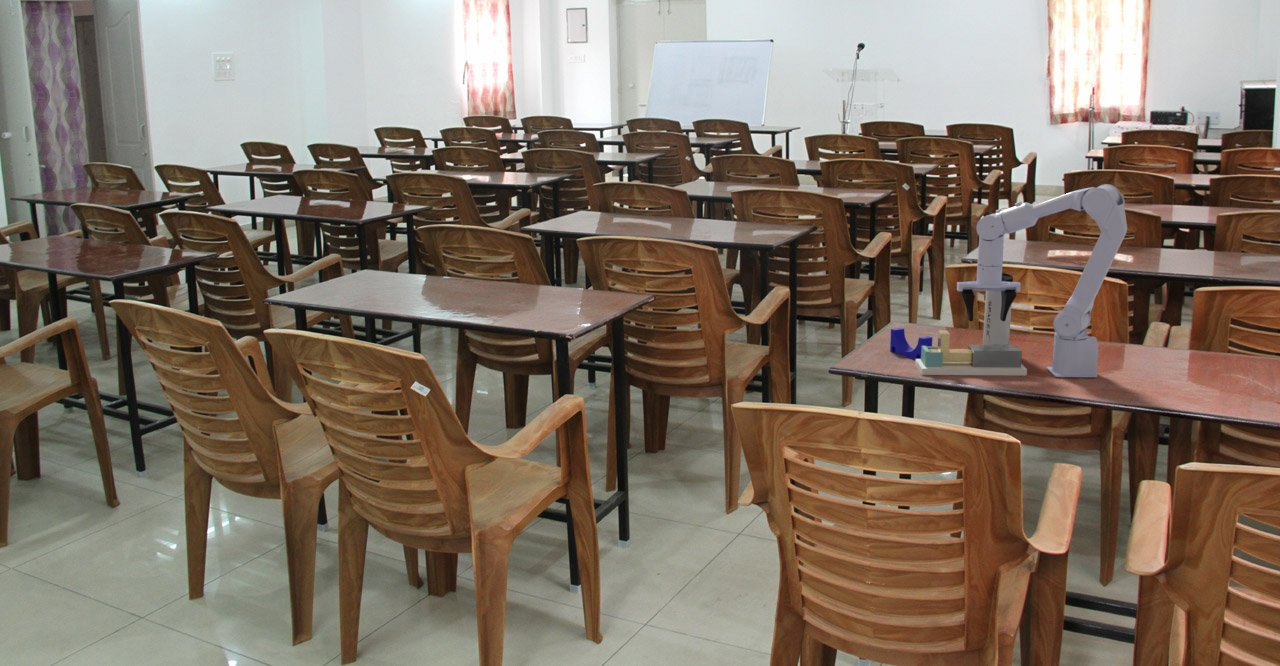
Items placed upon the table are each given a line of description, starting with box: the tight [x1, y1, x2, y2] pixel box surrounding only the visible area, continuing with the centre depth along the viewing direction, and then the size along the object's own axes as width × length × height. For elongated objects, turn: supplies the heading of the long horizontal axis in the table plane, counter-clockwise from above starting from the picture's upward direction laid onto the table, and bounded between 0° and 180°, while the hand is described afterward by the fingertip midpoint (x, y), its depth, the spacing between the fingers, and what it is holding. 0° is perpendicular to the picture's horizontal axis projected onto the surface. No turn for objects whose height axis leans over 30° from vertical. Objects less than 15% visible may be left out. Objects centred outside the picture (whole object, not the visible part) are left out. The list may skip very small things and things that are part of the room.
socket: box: [921, 346, 943, 367], centre depth 264 cm, size 4×6×4 cm
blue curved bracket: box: [889, 327, 933, 361], centre depth 278 cm, size 12×4×6 cm, turn 27°
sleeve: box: [967, 344, 1023, 368], centre depth 263 cm, size 11×6×4 cm, turn 86°
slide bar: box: [929, 330, 973, 363], centre depth 263 cm, size 15×4×7 cm, turn 86°
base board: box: [914, 359, 1028, 377], centre depth 264 cm, size 24×9×2 cm, turn 86°
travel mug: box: [982, 272, 1014, 345], centre depth 278 cm, size 6×7×20 cm
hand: (986, 320), depth 269 cm, fingers open, 7 cm apart
